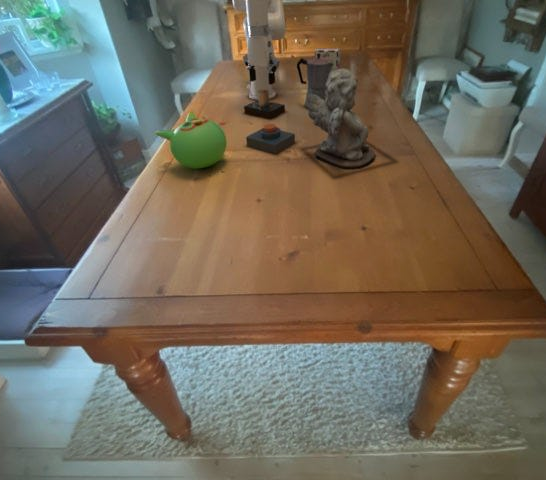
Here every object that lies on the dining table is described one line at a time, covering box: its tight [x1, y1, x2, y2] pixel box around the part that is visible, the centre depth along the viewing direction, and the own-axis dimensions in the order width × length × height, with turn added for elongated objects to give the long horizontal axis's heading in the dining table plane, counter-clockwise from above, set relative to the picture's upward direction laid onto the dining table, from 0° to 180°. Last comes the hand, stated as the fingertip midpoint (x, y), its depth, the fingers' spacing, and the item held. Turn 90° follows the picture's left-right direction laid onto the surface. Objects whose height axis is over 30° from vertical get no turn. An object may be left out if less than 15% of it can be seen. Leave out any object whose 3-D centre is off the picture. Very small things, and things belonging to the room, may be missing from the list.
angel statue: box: [306, 67, 377, 170], centre depth 105 cm, size 22×22×25 cm
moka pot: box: [296, 53, 334, 108], centre depth 143 cm, size 10×15×20 cm, turn 78°
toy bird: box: [155, 110, 228, 170], centre depth 108 cm, size 18×17×15 cm
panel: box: [243, 100, 286, 120], centre depth 145 cm, size 14×10×3 cm
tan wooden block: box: [258, 90, 270, 107], centre depth 142 cm, size 4×4×6 cm
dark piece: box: [245, 126, 296, 155], centre depth 121 cm, size 13×11×5 cm
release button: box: [263, 123, 277, 133], centre depth 119 cm, size 4×4×2 cm
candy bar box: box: [314, 48, 341, 91], centre depth 163 cm, size 11×5×16 cm, turn 68°
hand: (262, 82), depth 138 cm, fingers open, 9 cm apart
